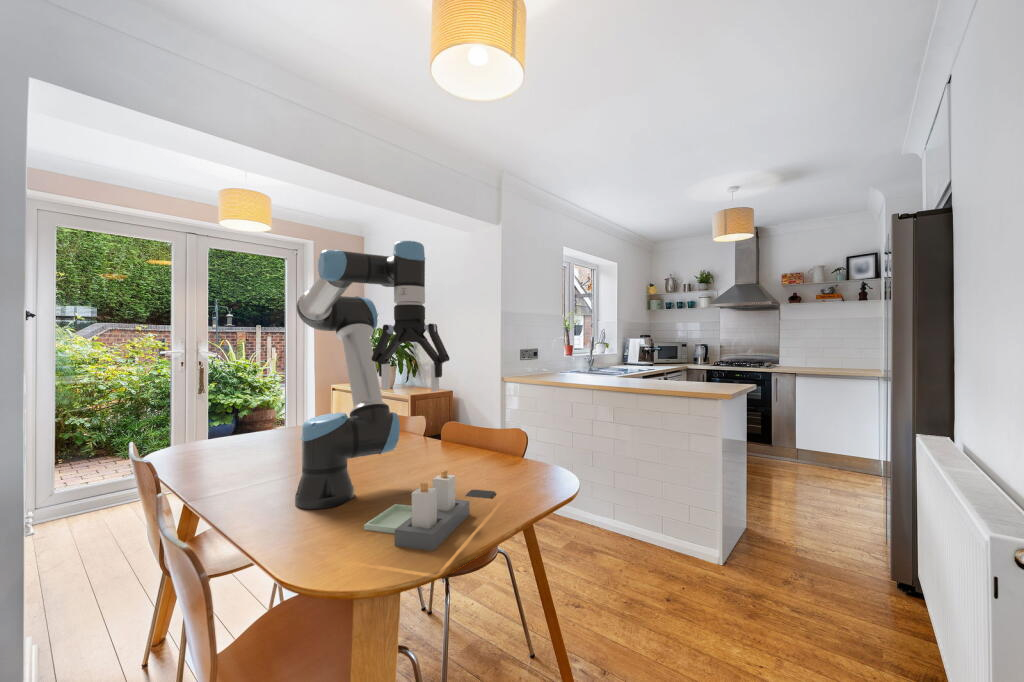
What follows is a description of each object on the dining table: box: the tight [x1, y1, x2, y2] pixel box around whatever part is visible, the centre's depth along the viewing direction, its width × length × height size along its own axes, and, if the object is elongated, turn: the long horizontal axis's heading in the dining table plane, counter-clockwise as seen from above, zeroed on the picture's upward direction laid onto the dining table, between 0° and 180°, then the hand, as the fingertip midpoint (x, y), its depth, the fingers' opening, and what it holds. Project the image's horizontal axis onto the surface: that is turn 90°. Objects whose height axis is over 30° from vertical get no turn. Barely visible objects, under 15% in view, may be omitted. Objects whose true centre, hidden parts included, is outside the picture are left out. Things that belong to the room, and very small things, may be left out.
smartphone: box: [464, 489, 496, 500], centre depth 120 cm, size 8×1×16 cm
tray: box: [363, 503, 412, 535], centre depth 106 cm, size 9×13×2 cm
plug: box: [411, 482, 437, 529], centre depth 96 cm, size 4×4×12 cm
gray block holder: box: [394, 469, 470, 552], centre depth 101 cm, size 9×20×12 cm, turn 164°
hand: (410, 390), depth 108 cm, fingers open, 13 cm apart
